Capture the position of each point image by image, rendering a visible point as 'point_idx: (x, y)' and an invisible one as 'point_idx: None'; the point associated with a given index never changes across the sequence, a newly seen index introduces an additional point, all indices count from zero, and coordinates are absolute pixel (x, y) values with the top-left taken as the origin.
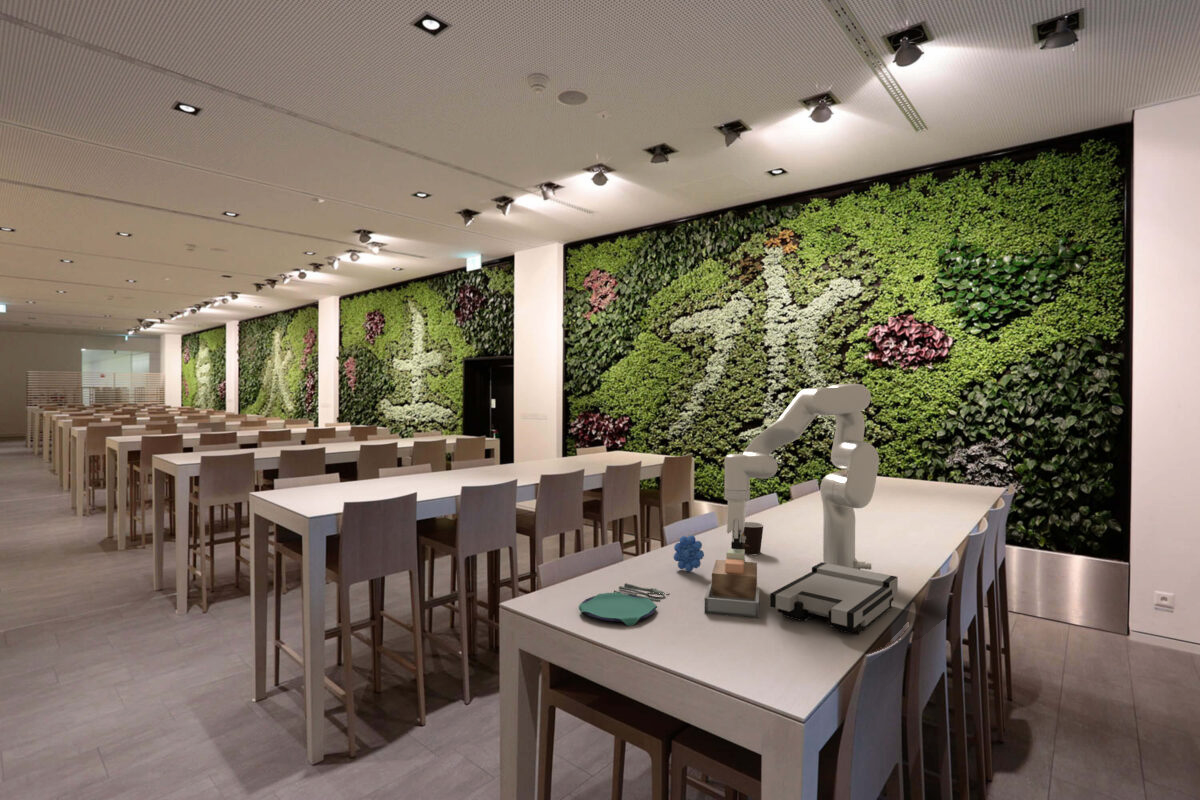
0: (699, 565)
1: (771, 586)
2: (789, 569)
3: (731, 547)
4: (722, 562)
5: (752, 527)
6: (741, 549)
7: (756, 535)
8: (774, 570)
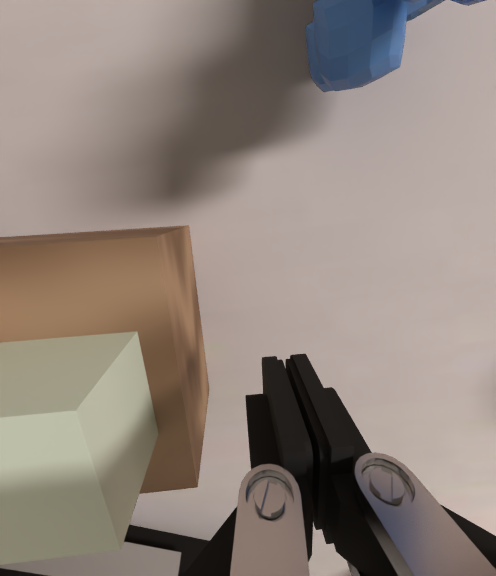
0: (319, 87)
1: (226, 430)
2: (444, 458)
3: (271, 397)
4: (99, 298)
5: None
6: (108, 528)
7: None
8: (427, 420)
